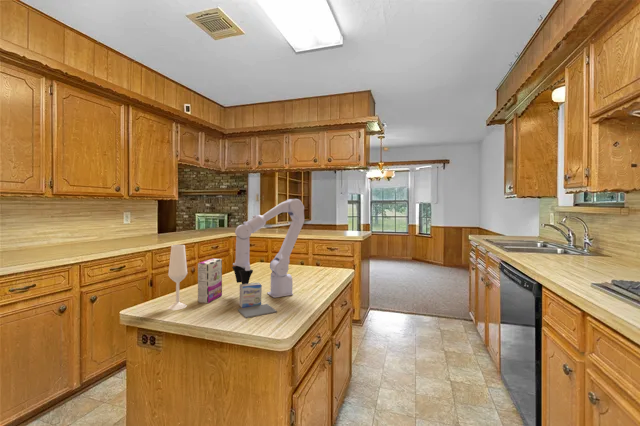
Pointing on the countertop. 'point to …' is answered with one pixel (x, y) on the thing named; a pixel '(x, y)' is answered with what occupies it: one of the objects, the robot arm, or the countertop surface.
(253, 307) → the slate mat
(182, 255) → the champagne flute
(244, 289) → the medicine box
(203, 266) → the candy bar box
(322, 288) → the countertop surface
